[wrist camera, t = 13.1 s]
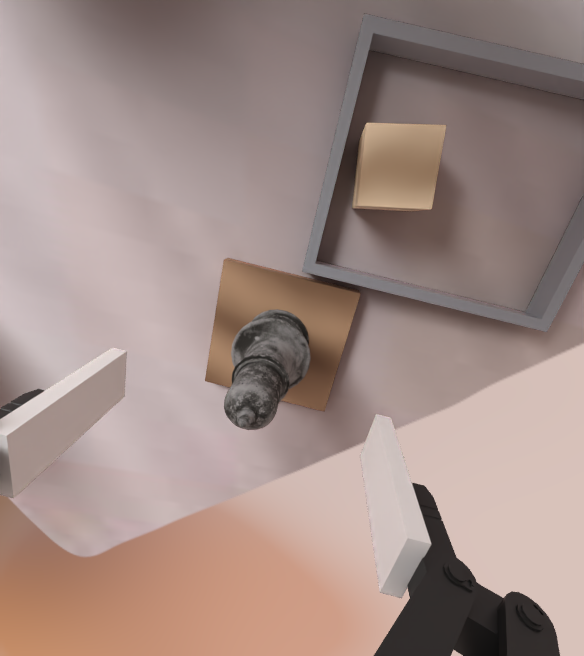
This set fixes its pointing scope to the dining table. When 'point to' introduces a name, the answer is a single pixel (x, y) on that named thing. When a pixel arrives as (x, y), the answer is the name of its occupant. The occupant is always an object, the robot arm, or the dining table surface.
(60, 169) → the dining table surface
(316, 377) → the light brown wooden board
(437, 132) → the beech block
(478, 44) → the tray
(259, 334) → the dark grey chess piece
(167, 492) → the dining table surface
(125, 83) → the dining table surface
